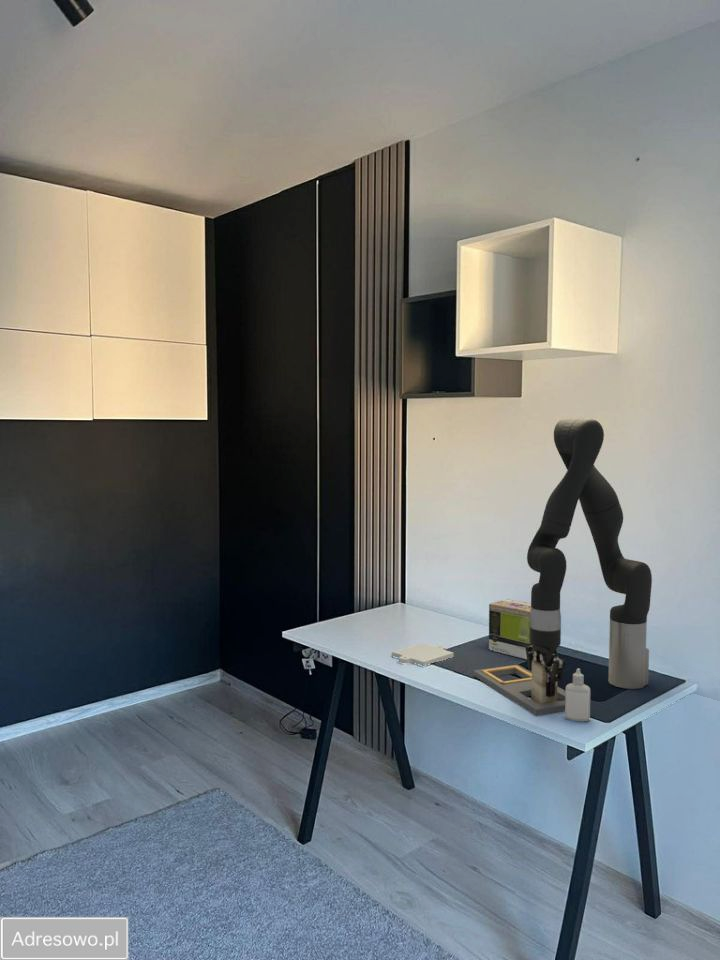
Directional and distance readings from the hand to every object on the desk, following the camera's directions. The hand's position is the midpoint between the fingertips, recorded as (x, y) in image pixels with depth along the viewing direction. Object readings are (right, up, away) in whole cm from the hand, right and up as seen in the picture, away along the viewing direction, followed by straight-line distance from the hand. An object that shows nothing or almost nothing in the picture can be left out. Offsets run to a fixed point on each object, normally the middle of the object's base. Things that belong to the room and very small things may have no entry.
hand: (544, 692), depth 186 cm
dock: (-3, -2, +8) cm, 8 cm away
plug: (0, -2, 0) cm, 2 cm away
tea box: (+2, 0, +40) cm, 40 cm away
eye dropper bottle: (+5, -3, -11) cm, 12 cm away
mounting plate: (-27, 0, +36) cm, 45 cm away
